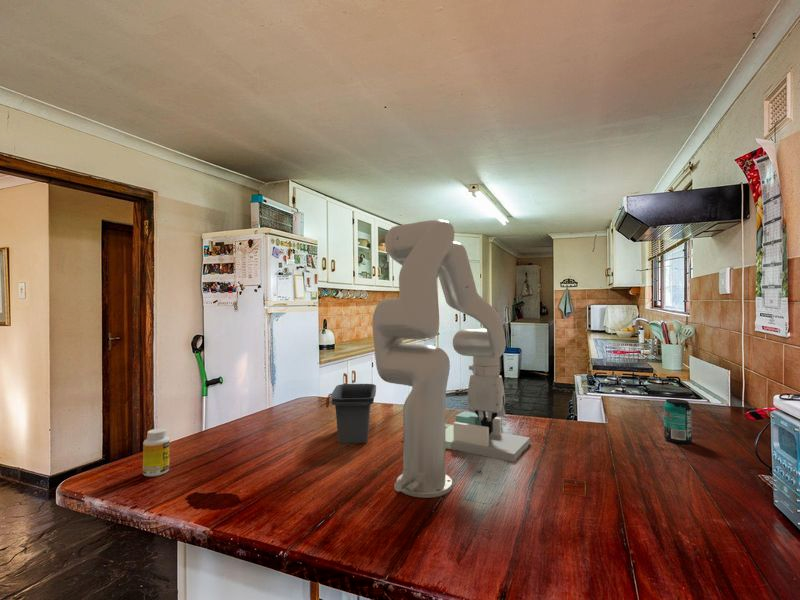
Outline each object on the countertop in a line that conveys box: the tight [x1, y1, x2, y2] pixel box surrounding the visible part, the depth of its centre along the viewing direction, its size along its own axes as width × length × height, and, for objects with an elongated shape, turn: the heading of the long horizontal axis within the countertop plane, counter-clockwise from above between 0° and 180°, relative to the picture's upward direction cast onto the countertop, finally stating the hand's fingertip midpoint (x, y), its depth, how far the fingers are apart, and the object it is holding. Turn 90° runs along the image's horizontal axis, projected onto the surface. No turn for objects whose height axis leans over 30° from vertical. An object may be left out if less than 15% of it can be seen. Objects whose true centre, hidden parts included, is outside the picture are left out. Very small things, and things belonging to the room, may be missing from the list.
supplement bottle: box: [142, 427, 171, 477], centre depth 100 cm, size 6×6×10 cm
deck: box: [445, 417, 531, 463], centre depth 122 cm, size 16×34×7 cm, turn 58°
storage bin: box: [325, 383, 377, 444], centre depth 129 cm, size 21×16×14 cm
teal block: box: [455, 411, 481, 426], centre depth 123 cm, size 6×6×6 cm
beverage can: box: [663, 398, 693, 445], centre depth 123 cm, size 7×7×12 cm
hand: (486, 433), depth 119 cm, fingers closed
